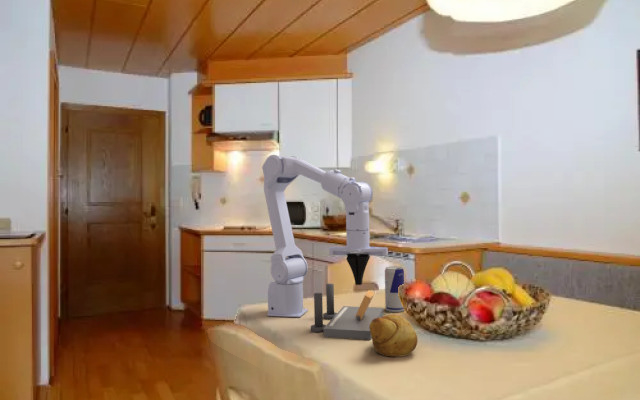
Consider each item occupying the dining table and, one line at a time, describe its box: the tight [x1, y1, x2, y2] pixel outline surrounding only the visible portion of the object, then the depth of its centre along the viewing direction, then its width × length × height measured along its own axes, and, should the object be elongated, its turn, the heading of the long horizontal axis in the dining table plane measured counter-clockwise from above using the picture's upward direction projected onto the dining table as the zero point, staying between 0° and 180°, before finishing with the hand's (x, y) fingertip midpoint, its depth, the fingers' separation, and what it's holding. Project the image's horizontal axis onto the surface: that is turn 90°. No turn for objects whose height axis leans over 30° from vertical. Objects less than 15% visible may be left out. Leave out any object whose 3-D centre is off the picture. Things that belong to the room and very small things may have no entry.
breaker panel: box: [323, 305, 384, 341], centre depth 120 cm, size 11×22×2 cm, turn 165°
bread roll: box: [369, 314, 419, 357], centre depth 101 cm, size 13×10×8 cm
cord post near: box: [310, 292, 327, 334], centre depth 116 cm, size 4×4×9 cm
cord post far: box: [323, 283, 338, 321], centre depth 128 cm, size 4×4×9 cm
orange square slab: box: [355, 290, 375, 320], centre depth 119 cm, size 2×6×6 cm, turn 166°
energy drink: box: [384, 265, 405, 313], centre depth 134 cm, size 5×5×12 cm
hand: (358, 284), depth 120 cm, fingers closed
